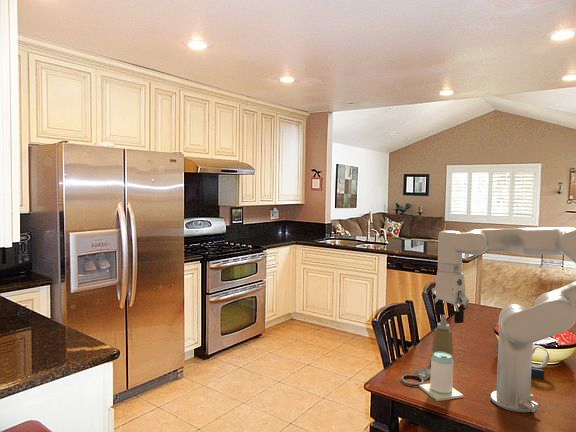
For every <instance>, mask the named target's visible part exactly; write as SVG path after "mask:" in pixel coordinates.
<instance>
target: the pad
mask: <svg viewBox="0 0 576 432" xmlns="http://www.w3.org/2000/svg"><path fill="white" fill-rule="evenodd" d="M418 388H420V389H421V390H422V391H423V392H425V393H426V394H427V395H428V396H430V397H431V398H432V399H433V400H435V402H436V401H437V402H438V401H439V402H441V401H446V400H447V401H448V400H454V399H461V398H464V394H462V392H460V391H458V390H456V388H454V387H453V389H452V391H451V392H449V393H447V394H442V393H438V392H435V391H434V390H433V389H432V388H431V387H430V383H424V384H422V385H419V387H418Z"/></svg>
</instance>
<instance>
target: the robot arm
mask: <svg viewBox="0 0 576 432" xmlns="http://www.w3.org/2000/svg"><path fill="white" fill-rule="evenodd" d="M437 243H438V244H437V250H438V251H437V270H436V271H437V272H436V276H435V277H436V278H435V286H434V287H432V288H431V292H432V298H433V302H434V315H436V316H442V315H445V303H449V304H450V305H452V306H453V307H454V309H455V310H454V312H453V313H454V316H453V317H454V318H453V322H454V323H455V324H462V323H464V322H465V320H464V317H465V316H464V315H465V311H466V309H467V308H468V305H469V303H470V299H469V298H468V297H467V295H466V293H467V292H466V282H465V276H464V273H463V254H467V255H471V256H480V255H482V254H484V253H486V252H508V253H512V254H517V255H520V256H566V257H567V258H568V259H569V260H571V261H572V262H573V263H575V264H576V227H573V226H572V227H571V226H560V227H559V226H557V227H555V226H554V227H552V226H551V227H517V228H483V229H482V228H481V229H479V228H478V229H471V230H469V231H467V232H461V231H457V230H442V231H439V233H438V237H437ZM575 324H576V280H575V281H573V282H571V283H568V284H565V285H564V286H562V287H558V288H555V289H553V290H551V291H548V292H544V293H542V294H540V295H539V296H537V298H536V299H535V301H534V305H533V306H530V307H528V308H527V307H525V306H523V305H522V304H517V303H511V304H510V303H509V304H507V305H506V306H504V307H503V308H502V309H501V310H500V313H499V315H498V345H497V346H498V349H497V369H496V370H497V371H496V372H497V373H496V389H495V390H494V391H492V392H491V393H490V400H491V401H492V402H493V404H495V405H497V406H498V407H499V408H502V409H504V410H508V411H511V412H515V413H530V412H531V413H535V412H536V411H537V409H539V406H540V405H539V403H538V402H535V401H534V395H533V394H532V393H531V384H532V377H531V368H532V364H533V363H532V361H533V355H532V351H533V345H534V343H536V342H540V341H543V340H544V339H548V338H551V337H553V336H557V335H559V334H562V333H564V332H566V331H568V330H571V328H572V327H573V326H575Z"/></svg>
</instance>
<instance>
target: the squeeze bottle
mask: <svg viewBox="0 0 576 432" xmlns="http://www.w3.org/2000/svg"><path fill="white" fill-rule="evenodd" d="M450 329H451V325H450V324H449V323H448V322H447V317H446V315H445V314H443V315H441V320H440V321H439V322H438V323H437V326H436V328H435V329H434V334H433V340H432V349H431V351H432V354H433V355H434V353H435V352H445V353H448V354H450V355H451V356H452V357H453V354H454V346H453V345H454V344H453V331H452V330H450ZM433 355H432V356H433Z"/></svg>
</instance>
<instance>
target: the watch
mask: <svg viewBox="0 0 576 432" xmlns="http://www.w3.org/2000/svg"><path fill="white" fill-rule="evenodd" d="M537 349H542V350H544V351H545V352H546V353H547V354H546V357H545V358H544V361H543V362H541V364H536V363H532V368H531V378H533V379H534V378H535V379H540V380H541V379H542V380H545V369H544V368H545V367H546V366H547V365H548V363H549V362H550V358H551V357H550V353H549V352H548V350H547V349H546V348H545V347H544V346H543V345H542V346H541V345H538V344H533V351H532V356H533V355H534V353H535V352H536V351H537Z"/></svg>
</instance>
